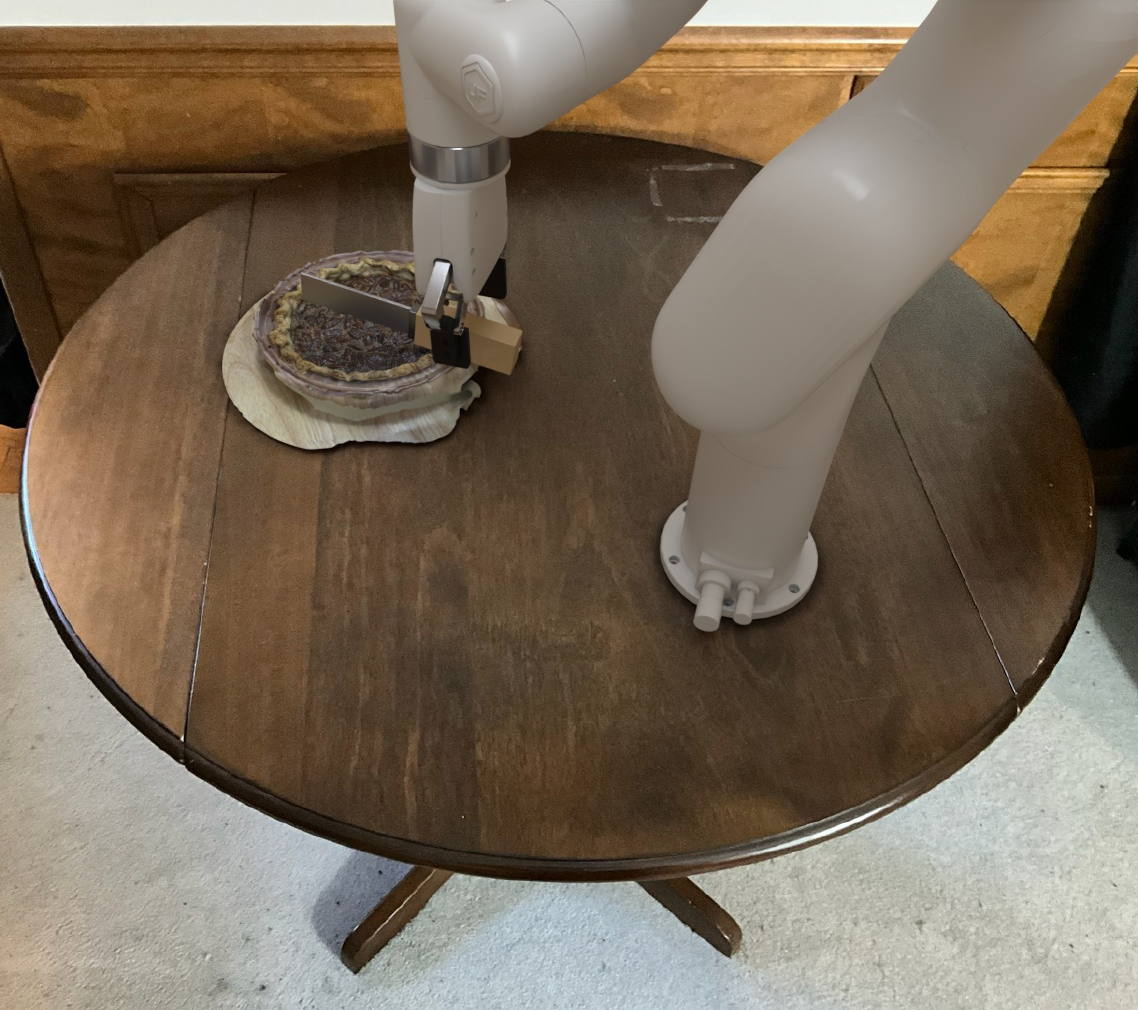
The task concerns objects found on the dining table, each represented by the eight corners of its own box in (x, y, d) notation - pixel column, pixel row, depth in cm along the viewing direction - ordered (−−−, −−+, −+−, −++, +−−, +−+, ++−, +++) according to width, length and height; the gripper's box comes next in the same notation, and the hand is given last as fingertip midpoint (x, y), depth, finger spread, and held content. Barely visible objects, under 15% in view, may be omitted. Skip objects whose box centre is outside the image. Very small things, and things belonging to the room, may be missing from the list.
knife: (517, 359, 93) (522, 330, 90) (510, 375, 92) (515, 346, 89) (307, 290, 94) (306, 259, 91) (297, 306, 92) (295, 274, 89)
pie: (197, 453, 89) (183, 412, 86) (250, 261, 107) (240, 219, 103) (523, 454, 91) (523, 413, 87) (522, 264, 109) (522, 223, 105)
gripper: (451, 84, 83) (463, 264, 96) (366, 199, 72) (393, 384, 85) (541, 98, 82) (541, 278, 95) (469, 216, 71) (480, 402, 84)
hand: (471, 328), depth 90 cm, fingers open, 9 cm apart
